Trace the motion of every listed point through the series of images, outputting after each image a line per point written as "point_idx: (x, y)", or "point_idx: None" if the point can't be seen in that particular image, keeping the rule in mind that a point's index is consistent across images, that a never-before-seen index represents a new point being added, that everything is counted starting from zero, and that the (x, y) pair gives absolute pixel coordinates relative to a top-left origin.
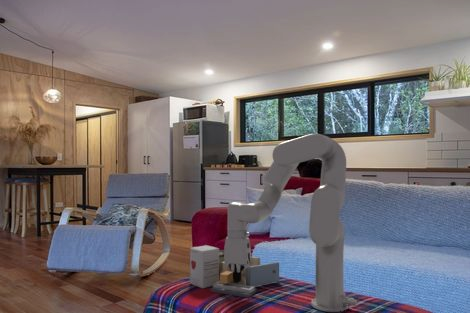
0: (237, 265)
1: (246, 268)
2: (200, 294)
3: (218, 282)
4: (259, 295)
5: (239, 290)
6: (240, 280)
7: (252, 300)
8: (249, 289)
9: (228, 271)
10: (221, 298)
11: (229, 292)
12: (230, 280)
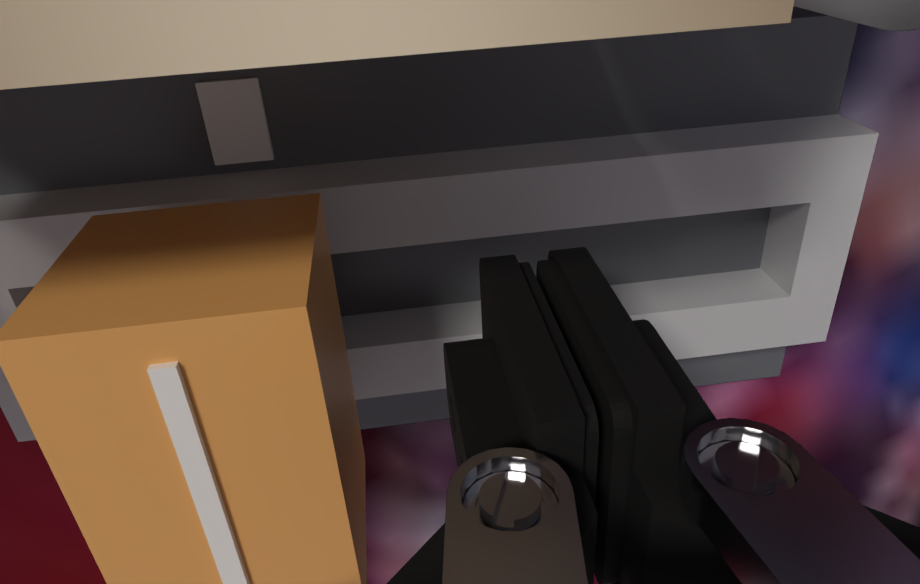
0: (275, 56)
1: (840, 12)
2: (81, 573)
3: (4, 308)
4: (901, 164)
5: None
6: (583, 256)
7: (836, 390)
8: (810, 329)
9: (117, 350)
10: (432, 532)
11: (447, 406)
12: (343, 346)
